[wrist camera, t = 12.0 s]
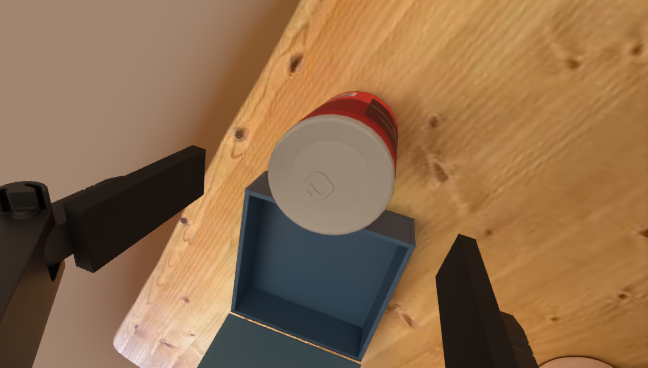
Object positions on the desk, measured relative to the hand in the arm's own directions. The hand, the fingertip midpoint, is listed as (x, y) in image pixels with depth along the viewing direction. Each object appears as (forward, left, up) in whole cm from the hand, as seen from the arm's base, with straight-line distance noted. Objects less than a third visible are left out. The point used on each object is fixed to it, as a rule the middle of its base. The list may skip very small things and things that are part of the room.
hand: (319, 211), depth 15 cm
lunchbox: (+10, +11, -14) cm, 21 cm away
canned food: (0, 0, -14) cm, 14 cm away
